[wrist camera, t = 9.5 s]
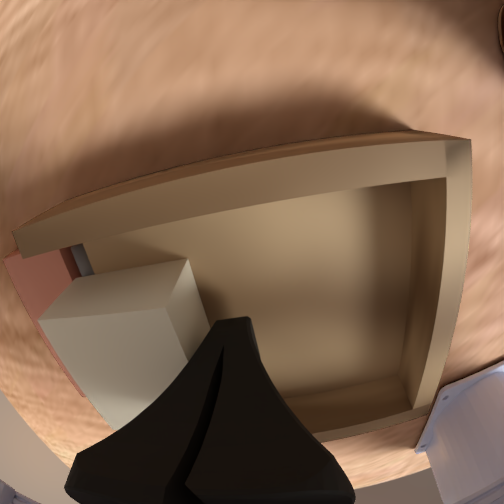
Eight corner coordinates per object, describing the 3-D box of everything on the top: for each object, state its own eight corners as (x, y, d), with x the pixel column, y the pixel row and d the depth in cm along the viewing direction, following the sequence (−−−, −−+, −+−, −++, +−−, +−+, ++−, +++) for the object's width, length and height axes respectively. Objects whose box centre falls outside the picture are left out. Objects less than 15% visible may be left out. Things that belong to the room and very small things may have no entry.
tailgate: (159, 401, 14) (82, 396, 14) (164, 387, 15) (87, 385, 15) (78, 237, 10) (2, 259, 11) (90, 228, 11) (14, 250, 12)
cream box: (228, 378, 13) (223, 433, 10) (130, 382, 13) (112, 429, 10) (187, 258, 10) (165, 307, 8) (76, 277, 11) (37, 320, 8)
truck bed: (405, 366, 14) (427, 414, 11) (158, 401, 15) (145, 450, 12) (414, 130, 9) (471, 139, 6) (64, 201, 11) (12, 231, 8)
